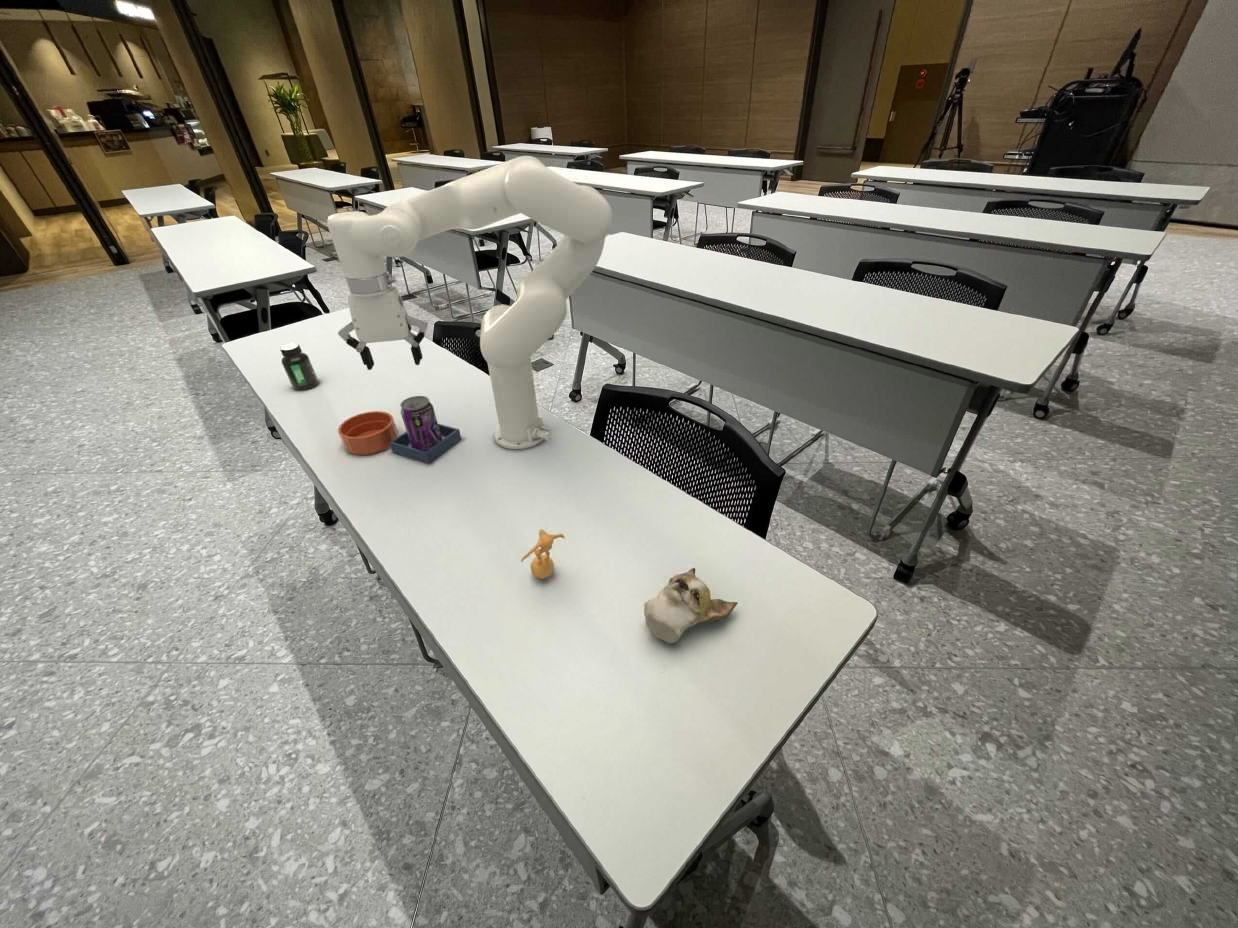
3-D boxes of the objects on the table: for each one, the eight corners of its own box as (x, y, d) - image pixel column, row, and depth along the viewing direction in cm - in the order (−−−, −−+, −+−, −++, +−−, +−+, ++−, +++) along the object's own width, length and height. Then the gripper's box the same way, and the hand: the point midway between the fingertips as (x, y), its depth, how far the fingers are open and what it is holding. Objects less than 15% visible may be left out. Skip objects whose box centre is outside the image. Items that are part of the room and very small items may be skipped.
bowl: (409, 434, 125) (404, 417, 122) (371, 461, 116) (364, 443, 113) (373, 424, 129) (367, 407, 126) (334, 449, 120) (326, 431, 117)
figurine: (557, 556, 91) (550, 506, 83) (576, 576, 87) (571, 525, 80) (517, 579, 86) (506, 529, 79) (535, 601, 83) (526, 550, 75)
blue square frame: (461, 439, 122) (459, 429, 121) (429, 464, 114) (426, 453, 113) (426, 429, 126) (423, 419, 125) (393, 453, 118) (389, 442, 117)
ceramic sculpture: (625, 583, 74) (695, 540, 82) (623, 621, 79) (689, 577, 87) (676, 631, 67) (747, 580, 75) (670, 670, 72) (737, 617, 80)
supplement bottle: (309, 391, 144) (292, 352, 137) (288, 390, 145) (270, 351, 138) (324, 380, 150) (308, 342, 143) (303, 379, 151) (287, 341, 144)
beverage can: (434, 456, 117) (421, 411, 110) (406, 453, 118) (391, 408, 111) (448, 439, 123) (436, 396, 115) (422, 436, 124) (408, 393, 117)
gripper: (418, 274, 101) (438, 353, 111) (327, 281, 99) (356, 361, 109) (412, 285, 95) (434, 368, 105) (316, 293, 93) (348, 377, 103)
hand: (394, 364), depth 107 cm, fingers open, 9 cm apart
